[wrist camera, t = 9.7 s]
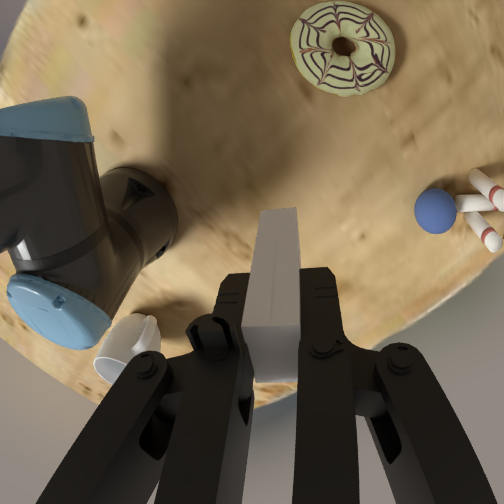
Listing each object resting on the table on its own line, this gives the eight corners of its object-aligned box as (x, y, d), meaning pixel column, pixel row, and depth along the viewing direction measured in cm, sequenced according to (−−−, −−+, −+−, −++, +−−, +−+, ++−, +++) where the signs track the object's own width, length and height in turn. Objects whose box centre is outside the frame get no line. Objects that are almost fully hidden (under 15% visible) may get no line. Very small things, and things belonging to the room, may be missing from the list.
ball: (458, 233, 36) (427, 213, 40) (468, 194, 32) (433, 176, 37) (436, 248, 34) (403, 226, 39) (445, 207, 31) (408, 187, 35)
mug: (137, 284, 53) (106, 339, 42) (188, 316, 56) (168, 374, 45) (112, 322, 60) (87, 370, 50) (155, 349, 63) (136, 399, 53)
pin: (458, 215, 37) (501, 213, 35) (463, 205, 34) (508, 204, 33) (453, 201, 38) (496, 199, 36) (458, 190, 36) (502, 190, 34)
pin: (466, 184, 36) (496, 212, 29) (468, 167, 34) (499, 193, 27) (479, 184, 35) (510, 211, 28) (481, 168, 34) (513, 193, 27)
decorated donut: (396, 88, 31) (407, 91, 27) (303, 100, 33) (305, 105, 30) (376, 2, 25) (385, -4, 21) (279, 13, 28) (278, 7, 24)
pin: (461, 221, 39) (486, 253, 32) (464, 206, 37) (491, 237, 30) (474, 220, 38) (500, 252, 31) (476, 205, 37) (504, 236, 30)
